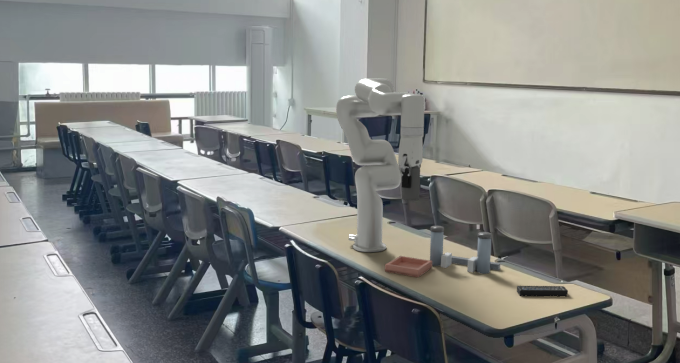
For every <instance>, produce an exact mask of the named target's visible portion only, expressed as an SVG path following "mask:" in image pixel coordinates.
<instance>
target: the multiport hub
mask: <svg viewBox="0 0 680 363" xmlns="http://www.w3.org/2000/svg"><path fill="white" fill-rule="evenodd" d="M516 292H517V294H518V296H520V297H544V296H557V298H558V297H560V296H565V297H566V298H567V297H568V294H569V293H568V292H569V290H568V289H567V288H566V287H565V286H564V285H563V286H562V285H517V286H516ZM565 297H564V298H565Z"/></svg>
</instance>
